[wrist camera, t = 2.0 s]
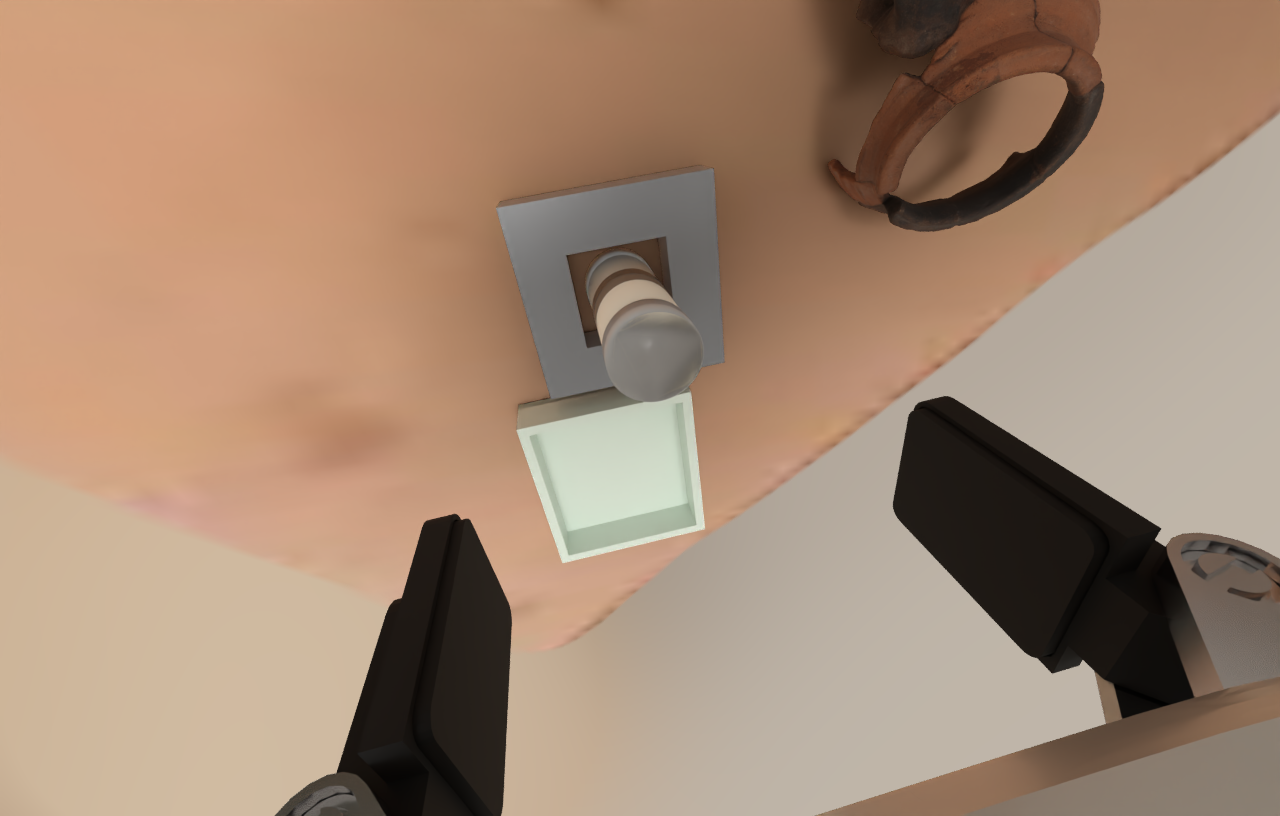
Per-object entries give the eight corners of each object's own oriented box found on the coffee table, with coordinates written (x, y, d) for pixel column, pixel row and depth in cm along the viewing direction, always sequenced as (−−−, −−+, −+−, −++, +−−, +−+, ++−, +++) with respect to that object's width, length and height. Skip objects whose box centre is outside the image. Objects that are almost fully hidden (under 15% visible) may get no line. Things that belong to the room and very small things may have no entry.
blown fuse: (646, 242, 22) (700, 300, 15) (655, 307, 24) (707, 390, 17) (578, 255, 22) (596, 321, 15) (592, 320, 24) (615, 410, 16)
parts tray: (679, 370, 26) (691, 391, 24) (694, 502, 32) (704, 529, 29) (518, 405, 26) (516, 429, 24) (561, 533, 31) (562, 563, 29)
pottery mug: (1051, 24, 21) (1164, 133, 17) (853, 175, 27) (903, 282, 23) (965, -287, 14) (1127, -220, 10) (719, 13, 20) (759, 129, 16)
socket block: (700, 165, 21) (713, 168, 19) (712, 346, 26) (724, 362, 24) (499, 201, 20) (496, 208, 19) (550, 381, 25) (550, 399, 24)
